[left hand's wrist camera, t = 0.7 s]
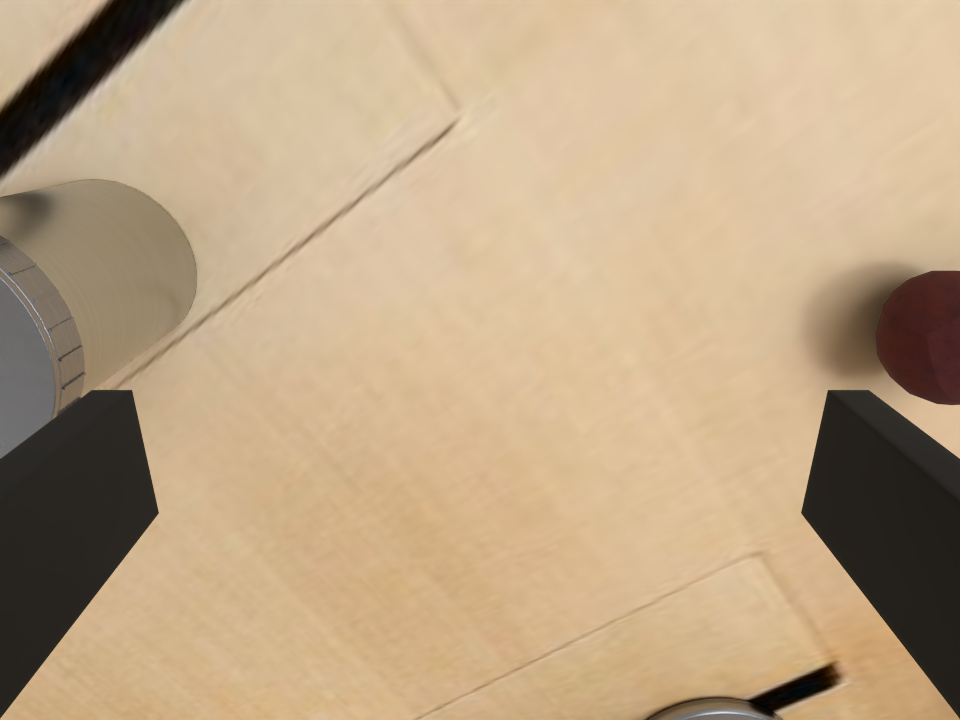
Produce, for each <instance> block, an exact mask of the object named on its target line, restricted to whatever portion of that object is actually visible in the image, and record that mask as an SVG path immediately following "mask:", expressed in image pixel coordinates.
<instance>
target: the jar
mask: <svg viewBox="0 0 960 720" xmlns="http://www.w3.org/2000/svg"><path fill="white" fill-rule="evenodd" d="M0 235H1V236H2V237H4V238H5V239H8V240H10V242H11V243H13V244H14V245H15V246H16V247H17V248H19V249H20V250H21V251H22V252H23V253H25V254H26V255H27V256H28V257H29V258H30V259H31V260H32V261H33V262H35V263H36V264H37V266H38V267H39V268H40V269H41V270H42V271H43V272H44V273H45V274H46V276H47V277H48V278H49V279H50V281H51V282H52V283H53V284H54V286H55V287H56V288H57V289H58V290H59V293H60V295H61V296H62V298H63V299H64V301H65V303H66V304H67V306H68V308H69V310H70V312H71V314H72V316H73V317H74V321H75V323H76V326H77V329H78V332H79V335H80V338H81V342H82V345H83V347H84V348H83V352H84V360H85V373H86V375H85V377H84V387H83V391H82V395H81V398H82V397H83V396H84V395H86V394H87V393H88V392H90V391H91V390H93V389H95V388H96V387H97V386H99V385H100V384H101V383H103V382H104V381H105V380H107V379H108V378H109V377H111V376H112V375H113V374H114V373H116V372H117V371H118V370H120V369H121V368H122V367H124V366H125V365H126V364H128V363H129V362H130V361H132V360H133V359H134V358H136V357H137V356H138V355H140V354H141V353H142V352H144V351H145V350H146V349H148V348H149V347H150V346H152V345H153V344H154V343H156V342H157V341H158V340H159V339H161V338H162V337H163V336H165V335H166V334H167V333H169V332H170V331H171V330H173V329H174V328H175V327H176V326H177V325H178V324H179V323H180V322H181V321H182V320H183V319H184V317H185V316H186V315H187V313H188V311H189V309H190V307H191V305H192V303H193V300H194V296H195V292H196V285H197V272H196V264H195V260H194V256H193V252H192V250H191V247H190V245H189V242H188V240H187V238H186V236H185V235H184V233H183V231H182V230H181V228H180V227H179V225H178V224H177V222H176V221H175V220H174V219H173V218H172V216H171V215H170V214H169V213H168V212H167V211H166V210H165V209H164V208H163V207H162V206H160V205H159V204H158V203H157V202H155V201H154V200H153V199H151V198H150V197H149V196H147V195H145V194H143V193H142V192H140V191H138V190H136V189H134V188H131V187H129V186H127V185H123V184H120V183H117V182H112V181H107V180H93V179H91V180H81V181H76V182H71V183H66V184H61V185H57V186H52V187H47V188H42V189H37V190H33V191H28V192H23V193H18V194H13V195H9V196H4V197H0Z"/></svg>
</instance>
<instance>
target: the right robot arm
mask: <svg viewBox="0 0 960 720" xmlns="http://www.w3.org/2000/svg"><path fill="white" fill-rule="evenodd" d="M649 720H783V719H782V718H781V717H779V716H778V715H777V714H775V713H774V712H772V711H771V710H769V709H767V708H765V707H762V706H760V705H757V704H754V703H751V702H747V701H742V700H736V699H724V698H716V699H703V700H696V701H691V702H687V703H683V704H680V705H677V706H674V707H672V708H669V709H667V710H665V711H663V712H660V713H659V714H657V715H655V716H653V717H652V718H650V719H649Z"/></svg>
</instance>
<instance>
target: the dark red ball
mask: <svg viewBox="0 0 960 720" xmlns="http://www.w3.org/2000/svg"><path fill="white" fill-rule="evenodd" d="M876 343H877V355H878V357H879V359H880V361H881V363H882V365H883V366H884V368H885V369H886V371H887V373H888V374H889V376H890V377H891V378H892V379H893V380H894V381H896V382H897V383H898V384H899V385H900V386H901V387H902V388H904V389H905V390H906V391H907V392H908V393H909V394H912V395H915V396H917V397H920V398H923V399H925V400H928V401H931V402H934V403H936V404H945V405H960V271H931V272H928V273H925V274H922V275H919V276H916V277H914V278H911V279H909V280H907V281H906V282H905V283H903V284H902V285H901V286H900V287H899V288H897V289H896V290H895V291H894V292H893V293H892V295H891V296H890V298H889V299H888V301H887V302H886V303H885V305H884V307H883V310H882V314H881V317H880V320H879V324H878V327H877V331H876Z"/></svg>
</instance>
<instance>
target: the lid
mask: <svg viewBox="0 0 960 720" xmlns="http://www.w3.org/2000/svg"><path fill="white" fill-rule="evenodd" d="M83 348H84V347H83V345H82V342H81V338H80V335H79V332H78V329H77V326H76V323H75V321H74V317H73V316H72V314H71V312H70V310H69V308H68V306H67V304H66V303H65V301H64V299H63V298H62V296H61V295H60V293H59V290H58V289H57V288H56V287H55V286H54V284H53V283H52V282H51V281H50V279H49V278H48V277H47V276H46V274H45V273H44V272H43V271H42V270H41V269H40V268H39V267H38V266H37V264H36V263H35V262H33V261H32V260H31V259H30V258H29V257H28V256H27V255H26V254H25V253H23V252H22V251H21V250H20V249H19V248H17V247H16V246H15V245H14V244H13V243H11V242H10V240H8V239H5V238H4V237H2V236H1V235H0V459H1V458H2V457H3V456H5V455H6V454H7V453H9V452H10V451H11V450H13V449H14V448H15V447H17V446H18V445H19V444H21V443H22V442H23V441H25V440H26V439H27V438H29V437H30V436H31V435H33V434H34V433H35V432H37V431H38V430H39V429H41V428H42V427H43V426H45V425H46V424H47V423H49V422H50V421H51V420H53V419H54V418H55V417H57V416H58V415H59V414H60V413H62V412H63V411H64V410H66V409H67V408H68V407H70V406H71V405H72V404H74V403H75V402H76V401H78V400H79V399H80V398H81V395H82V391H83V387H84V377H85V375H86V373H85V360H84V352H83Z"/></svg>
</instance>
